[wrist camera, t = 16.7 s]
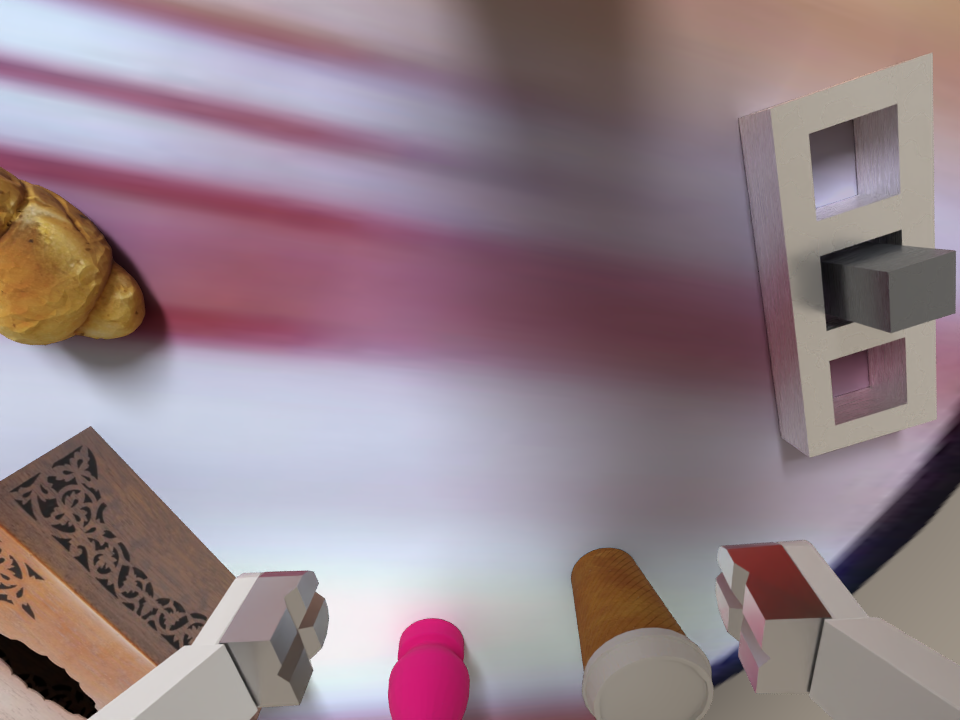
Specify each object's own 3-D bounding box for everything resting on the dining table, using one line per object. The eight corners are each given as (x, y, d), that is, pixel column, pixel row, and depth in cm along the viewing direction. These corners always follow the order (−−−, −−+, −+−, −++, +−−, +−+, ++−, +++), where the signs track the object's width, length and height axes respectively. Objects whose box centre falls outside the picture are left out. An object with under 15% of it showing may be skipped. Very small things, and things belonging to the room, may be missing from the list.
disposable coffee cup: (534, 591, 45) (560, 722, 34) (591, 516, 42) (640, 631, 31) (615, 626, 47) (665, 763, 35) (674, 557, 44) (748, 680, 33)
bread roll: (186, 292, 35) (110, 317, 27) (100, 371, 36) (5, 415, 29) (32, 141, 31) (-104, 122, 24) (-56, 235, 33) (-211, 245, 25)
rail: (738, 118, 33) (770, 108, 29) (883, 68, 32) (932, 52, 29) (780, 436, 41) (809, 457, 37) (897, 401, 40) (936, 419, 37)
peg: (797, 257, 36) (888, 272, 28) (849, 240, 36) (955, 250, 28) (802, 306, 37) (891, 333, 30) (853, 290, 37) (955, 312, 29)
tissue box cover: (-39, 505, 40) (-195, 600, 30) (93, 424, 38) (-28, 498, 28) (172, 691, 47) (101, 814, 38) (290, 631, 45) (247, 744, 36)
